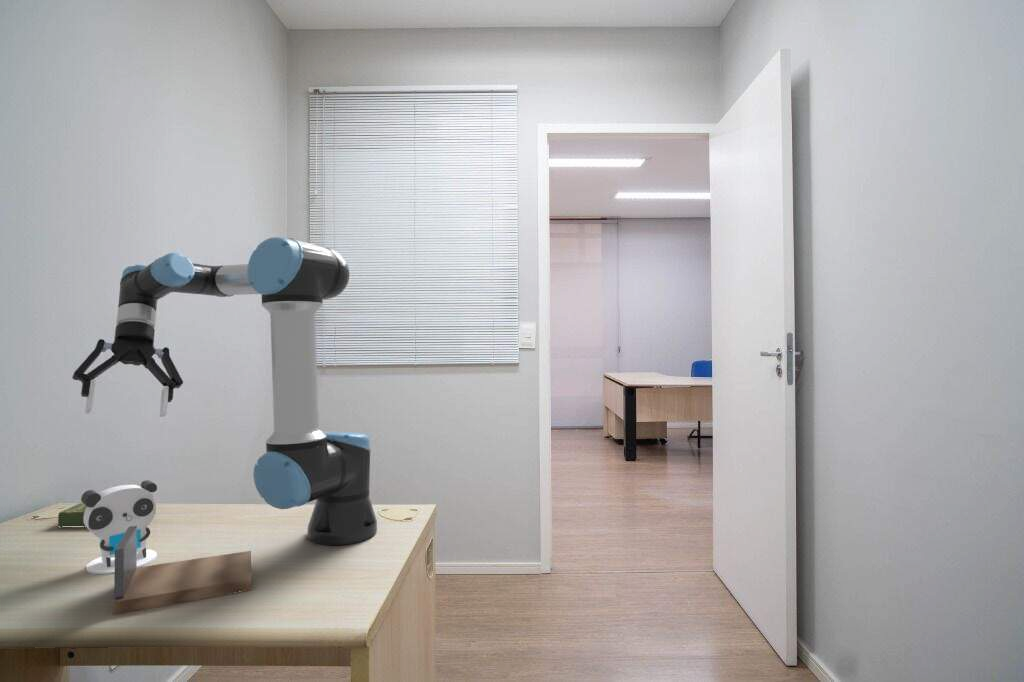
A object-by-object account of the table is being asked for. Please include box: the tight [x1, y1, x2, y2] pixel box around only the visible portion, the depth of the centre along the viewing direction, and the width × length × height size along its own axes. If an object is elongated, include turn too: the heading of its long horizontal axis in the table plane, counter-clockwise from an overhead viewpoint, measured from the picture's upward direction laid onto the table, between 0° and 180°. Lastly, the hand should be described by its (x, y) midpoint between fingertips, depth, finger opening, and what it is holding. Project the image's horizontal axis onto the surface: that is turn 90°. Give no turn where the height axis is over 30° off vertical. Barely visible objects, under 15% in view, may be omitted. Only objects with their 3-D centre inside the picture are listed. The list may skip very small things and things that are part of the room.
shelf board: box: [112, 550, 253, 616], centre depth 97 cm, size 20×14×2 cm
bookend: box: [113, 526, 137, 601], centre depth 93 cm, size 1×12×8 cm, turn 26°
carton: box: [57, 501, 87, 527], centre depth 130 cm, size 8×16×4 cm, turn 95°
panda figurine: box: [80, 479, 158, 575], centre depth 107 cm, size 12×11×15 cm
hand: (127, 413), depth 118 cm, fingers open, 13 cm apart
